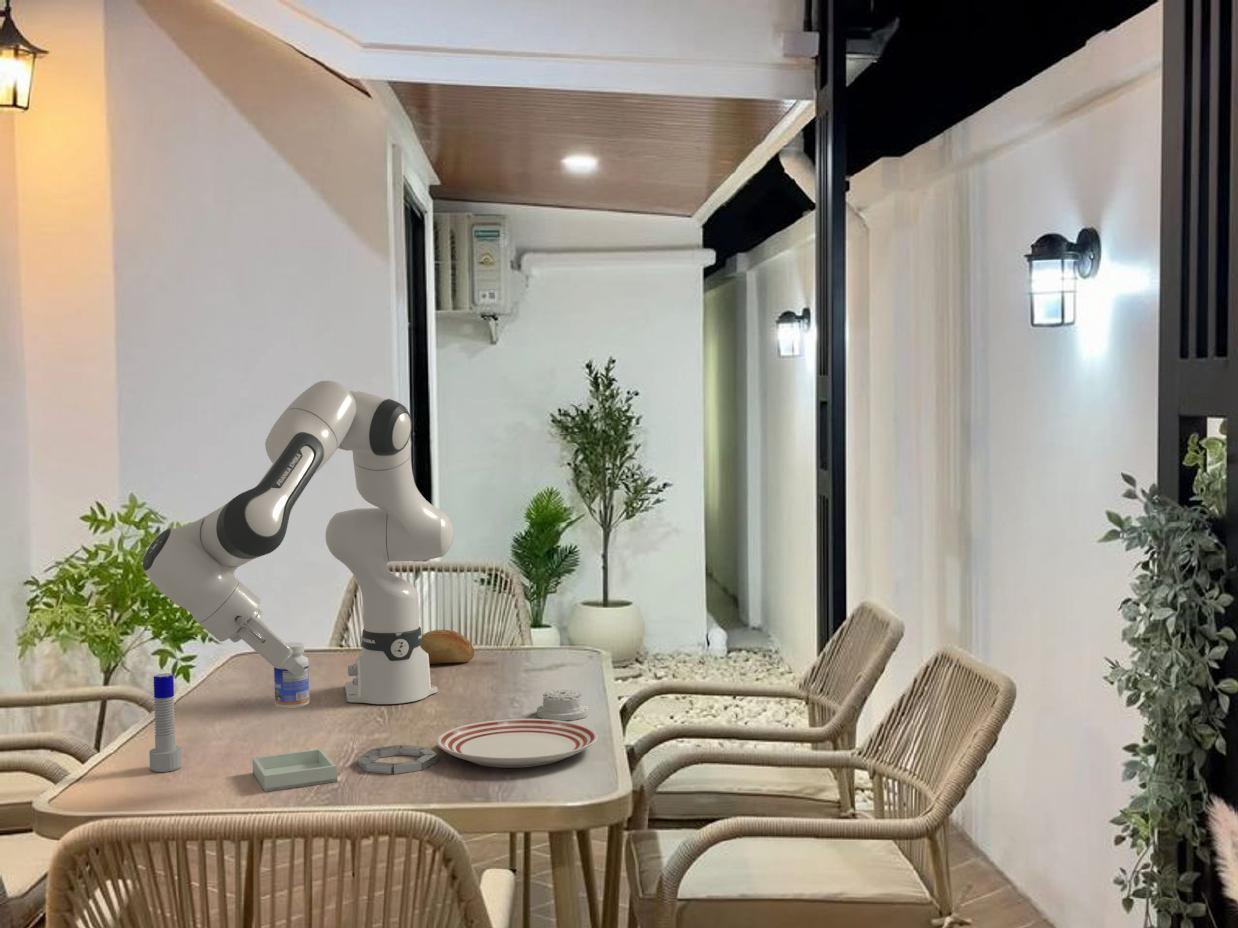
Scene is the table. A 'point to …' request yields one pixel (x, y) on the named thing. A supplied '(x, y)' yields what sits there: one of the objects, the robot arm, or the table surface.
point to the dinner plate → (517, 742)
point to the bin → (294, 770)
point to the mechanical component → (562, 706)
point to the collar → (370, 765)
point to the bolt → (164, 727)
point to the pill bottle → (292, 681)
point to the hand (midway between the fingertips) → (296, 669)
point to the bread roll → (446, 647)
